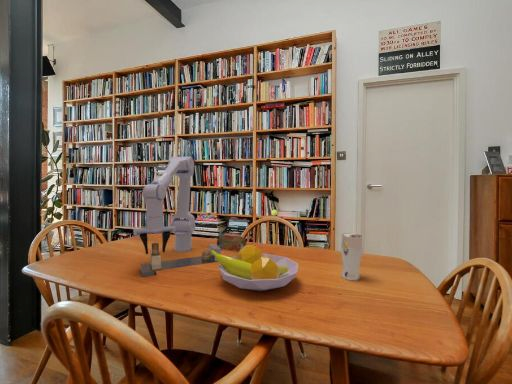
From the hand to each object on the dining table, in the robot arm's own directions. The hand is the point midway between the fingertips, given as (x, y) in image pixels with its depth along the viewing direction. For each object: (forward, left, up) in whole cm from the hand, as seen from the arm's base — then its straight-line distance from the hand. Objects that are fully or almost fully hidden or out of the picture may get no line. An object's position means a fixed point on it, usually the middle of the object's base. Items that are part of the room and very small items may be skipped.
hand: (155, 252), depth 100 cm
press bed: (0, +10, -7) cm, 12 cm away
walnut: (0, +19, -5) cm, 20 cm away
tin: (-9, +34, -7) cm, 36 cm away
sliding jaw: (0, 0, -5) cm, 5 cm away
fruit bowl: (+26, +29, -7) cm, 40 cm away
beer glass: (+37, +61, -7) cm, 72 cm away
